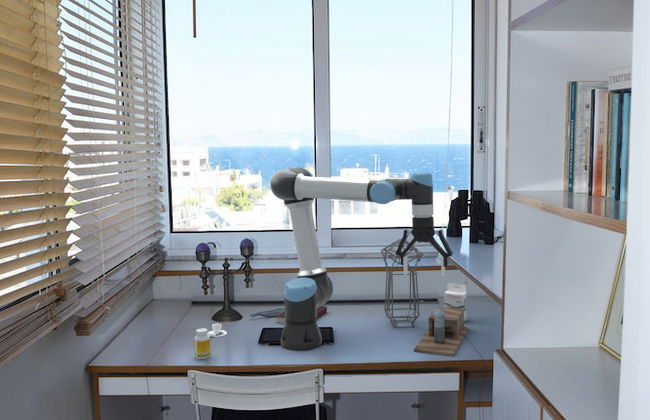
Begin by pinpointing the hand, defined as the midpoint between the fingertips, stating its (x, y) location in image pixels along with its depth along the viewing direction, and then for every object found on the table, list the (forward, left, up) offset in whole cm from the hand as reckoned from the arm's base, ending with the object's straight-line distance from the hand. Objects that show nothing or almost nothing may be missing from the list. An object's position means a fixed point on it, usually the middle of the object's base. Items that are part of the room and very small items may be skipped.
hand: (424, 275), depth 216 cm
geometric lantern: (+22, +14, -26) cm, 37 cm away
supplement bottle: (-37, +70, -26) cm, 83 cm away
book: (+18, +56, -27) cm, 65 cm away
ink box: (+35, -5, -26) cm, 44 cm away
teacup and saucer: (-14, +82, -26) cm, 87 cm away
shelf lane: (+8, -5, -26) cm, 27 cm away
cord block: (+11, -5, -25) cm, 28 cm away
